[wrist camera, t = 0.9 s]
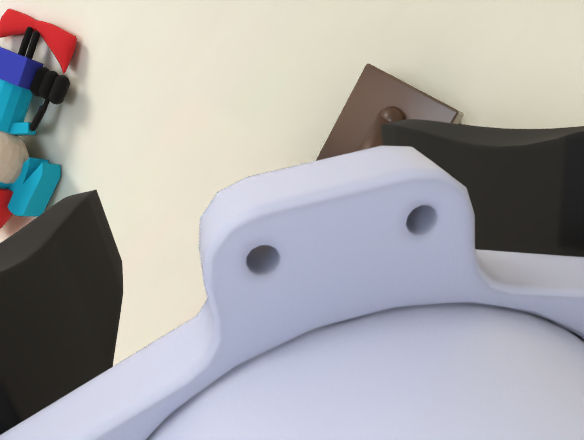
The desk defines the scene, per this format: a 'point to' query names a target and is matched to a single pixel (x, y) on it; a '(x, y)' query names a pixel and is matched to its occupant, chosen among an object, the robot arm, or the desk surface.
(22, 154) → the toy figure
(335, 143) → the brown block with peg
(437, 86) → the desk surface
